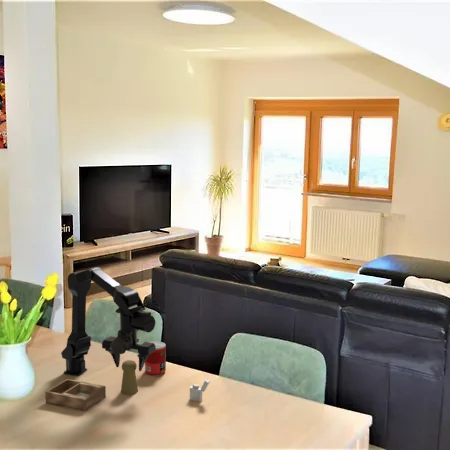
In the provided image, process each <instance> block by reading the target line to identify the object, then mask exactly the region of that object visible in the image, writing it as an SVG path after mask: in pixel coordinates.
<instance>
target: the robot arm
mask: <svg viewBox="0 0 450 450" xmlns="http://www.w3.org/2000/svg"><path fill="white" fill-rule="evenodd" d="M92 282H93V283H94V284H96V286H98V287H99V288H101V289H102V290H104V292H106V293H107V294H108V295H110V296H111V297H112V300H113V303H114V304H115V305H116V306H117V307H118V308H117V309H116V310H115V313H118V314H119V330H118V331H117V336H109V337H106V338H105V339H103V340H102V343H101V349H104V350H105V351H106V352H109V354H110V355H111V357H112V359H113V360H112V361H114V365H115V368H119V366H120V363H121V362H120V361H121V355H123V354H125V353H126V351H128V352H129V351H130V350H136V351H137V353H138V354H137V358H138V371H139V372H142V371H143V367H145V361H146V359H147V357H148V355H150V354H151V353H153V352H154V351H156V346H155V344H154V343H149V342H150V341H145V342H143V343H142V344H140V343H139V341H140V339H139V338H137V337H138V336H137V335H138V332H139V331H141V332H145V333H151V332H152V331H153V330H155V327H156V319H155V317H154V316H153V315H152V312H151V311H146V307H145V304H144V303H143V301H142V298H141V297H140V294H139V293H138V291H137V290H135V289H134V288H131V287H129V286H124V285H122V284H120V283H119V282H117V281H116V280H115V279H114V278H112V277H111V276H109V275H108V274H107V273H105V272H104V271H103V270H102V268H101V267H99V266H95V267H90V268H88V269H83V270H80V271H79V270H78V271H75V272H74V271H73V272H71V273H69V274H68V276H67V287H68V290H69V291H70V293H71V295H72V298H71V300H72V302H71V304H72V305H71V307H72V308H71V332H70V333H69V336H67V339H66V346H65V347H64V348H63V349H62V351H61V358H62V359H64V360H65V368H66V370H64V371H63V374H66V375H70V376H71V375H72V376H77V377H78V376H80V375H81V374H83V373H85V372H86V371H88V368H87V367H86V359H85V356H87V355H88V354H89V350H90V347H91V346H92V344H91V343H92V342H91V341H92V337H91V336H90V335H88V333H87V332H86V331H87V330H86V323H87V322H86V317H87V316H86V314H87V311H86V310H87V295H88V292H89V291H90V289H91V286H92Z"/></svg>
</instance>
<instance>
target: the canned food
mask: <svg viewBox="0 0 450 450" xmlns="http://www.w3.org/2000/svg"><path fill="white" fill-rule="evenodd" d="M148 342H149V343H154V344H155V346H156V351H154V352H153V353H151V354H150V355H148V357H147V359H146V361H145V363H144V372H145V374H146V375H149V376H155V377H157V376H161V375H164V374H165V373H166V370H167V367H166V365H167V362H166V361H167V359H166V357H167V354H166V353H167V351H166V349H167V348H166V347H167V346H166V343H165V342H162V341H156V340H155V341H148Z"/></svg>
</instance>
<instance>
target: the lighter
mask: <svg viewBox="0 0 450 450" xmlns="http://www.w3.org/2000/svg"><path fill="white" fill-rule="evenodd" d="M210 382H211V380H210V379H209V378H206V379H205V380H204V382H203V384H202V385H201V387H200V384H195V383H194V384H192V385H191V386H190V387H189V401H195V402H202V401H203V393H204V392H206V391H207V388H208V386H209V384H210Z"/></svg>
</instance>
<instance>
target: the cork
mask: <svg viewBox="0 0 450 450" xmlns="http://www.w3.org/2000/svg"><path fill="white" fill-rule="evenodd" d="M137 367H138V366H137V363H136V361H135V360H131V359H130V360H128V359H127V360H124V361H123V362H122V364H121V369H122V379H121V380H122V381H121V388H120V389H121V390H120V393H121V394H122V395H126V396H127V395H129V396H131V395H136V394H137V393H138V392H139V388H138V382H137V381H138V380H137V374H136V370H137Z"/></svg>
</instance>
